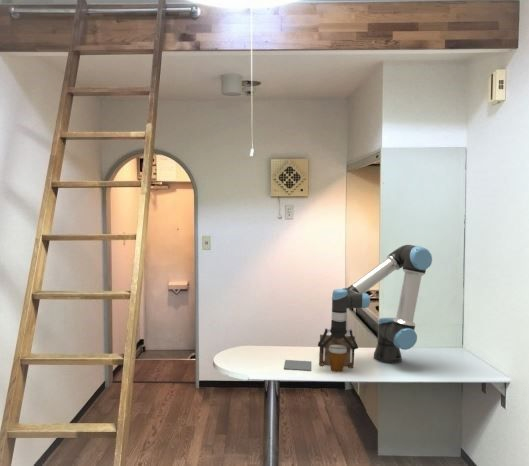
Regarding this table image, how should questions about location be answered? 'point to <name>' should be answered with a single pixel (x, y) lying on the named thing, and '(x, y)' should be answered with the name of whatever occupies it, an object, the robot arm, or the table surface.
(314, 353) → the table surface
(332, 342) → the screen
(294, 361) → the mat
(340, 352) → the disposable coffee cup
